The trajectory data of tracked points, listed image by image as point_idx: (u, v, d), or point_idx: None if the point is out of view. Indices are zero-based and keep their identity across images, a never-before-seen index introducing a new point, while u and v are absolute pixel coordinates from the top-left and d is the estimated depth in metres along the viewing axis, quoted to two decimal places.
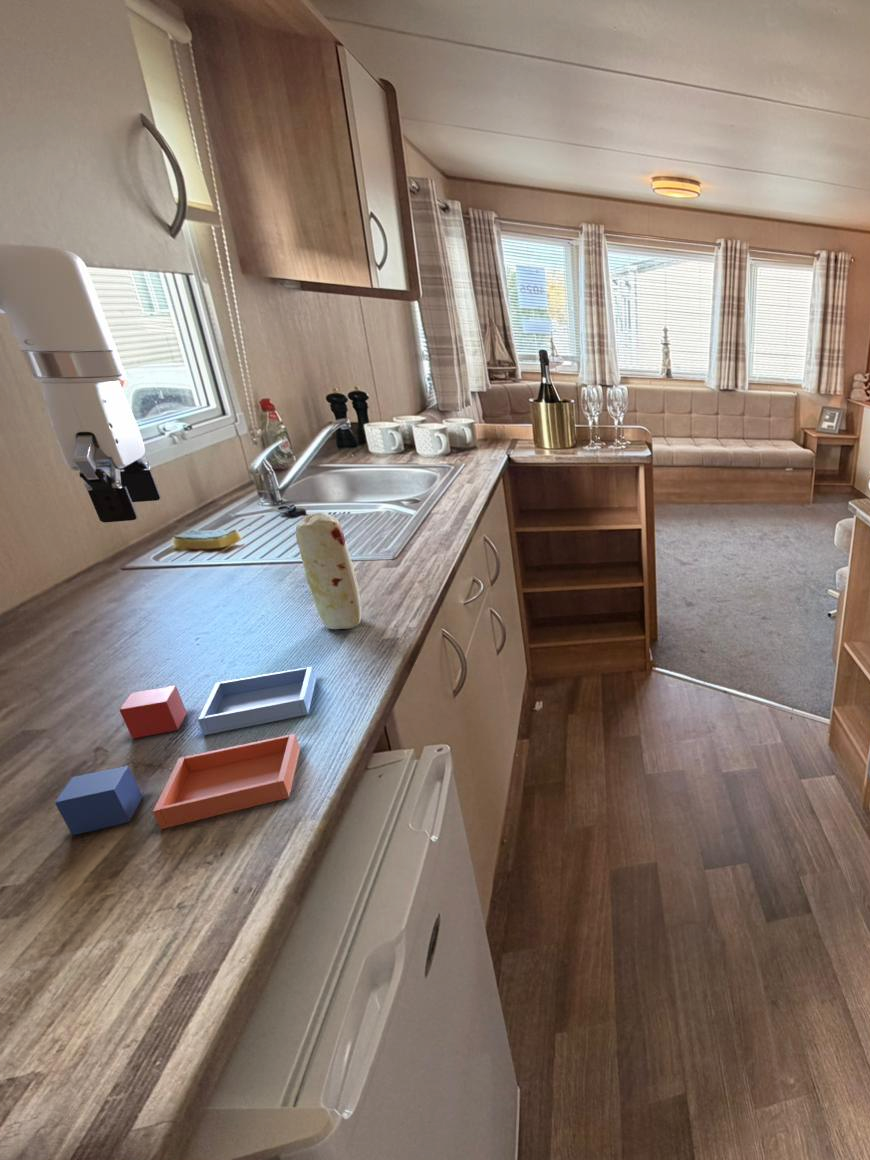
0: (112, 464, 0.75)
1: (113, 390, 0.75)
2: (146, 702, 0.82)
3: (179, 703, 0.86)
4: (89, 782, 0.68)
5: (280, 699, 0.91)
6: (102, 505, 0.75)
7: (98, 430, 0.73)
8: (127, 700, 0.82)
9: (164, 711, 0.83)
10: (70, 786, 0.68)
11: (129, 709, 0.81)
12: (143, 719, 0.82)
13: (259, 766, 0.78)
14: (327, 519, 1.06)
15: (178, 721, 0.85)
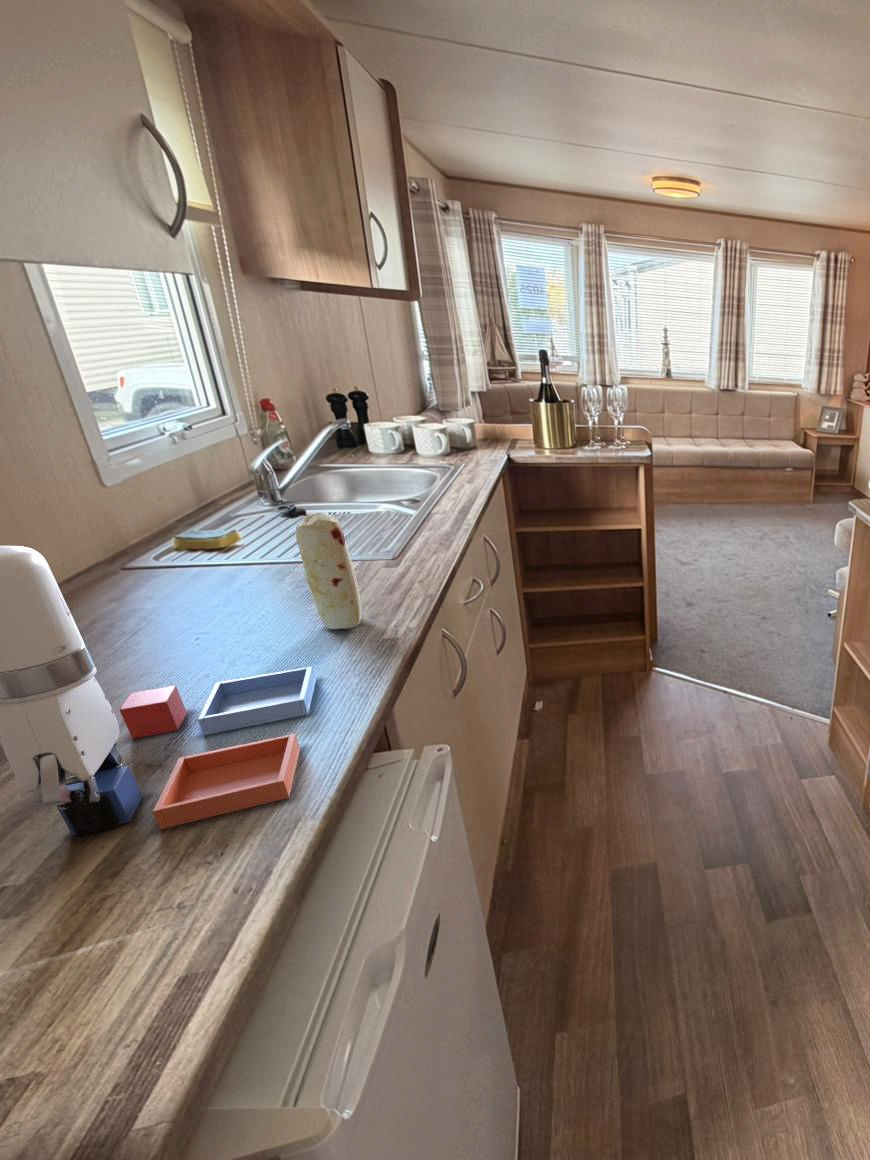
0: (77, 779, 0.64)
1: (79, 690, 0.64)
2: (146, 702, 0.82)
3: (179, 703, 0.86)
4: None
5: (280, 699, 0.91)
6: (79, 821, 0.66)
7: (60, 748, 0.62)
8: (127, 700, 0.82)
9: (164, 711, 0.83)
10: (70, 786, 0.68)
11: (129, 709, 0.81)
12: (143, 719, 0.82)
13: (259, 766, 0.78)
14: (327, 519, 1.06)
15: (178, 721, 0.85)
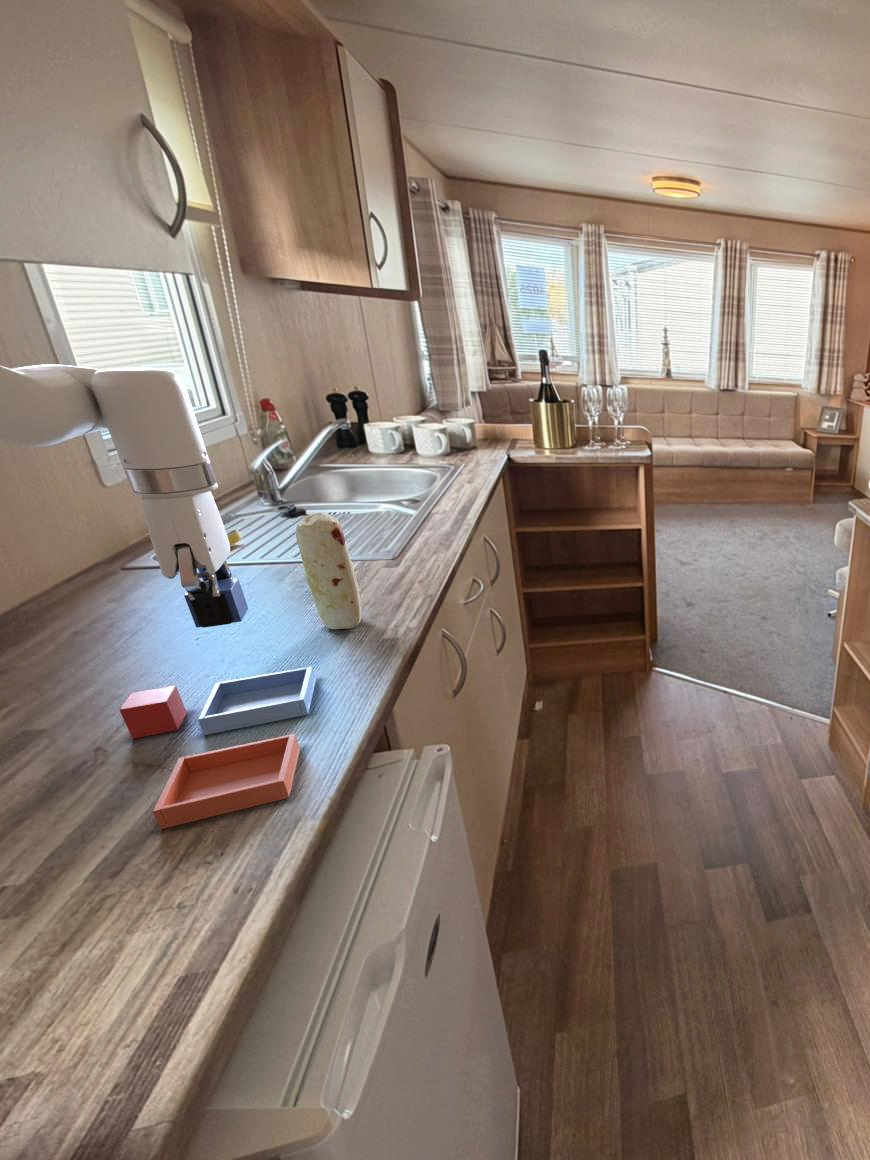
0: (205, 571, 0.77)
1: (206, 498, 0.77)
2: (146, 702, 0.82)
3: (179, 703, 0.86)
4: None
5: (280, 699, 0.91)
6: (203, 613, 0.79)
7: (194, 541, 0.75)
8: (127, 700, 0.82)
9: (164, 711, 0.83)
10: None
11: (129, 709, 0.81)
12: (143, 719, 0.82)
13: (259, 766, 0.78)
14: (327, 519, 1.06)
15: (178, 721, 0.85)
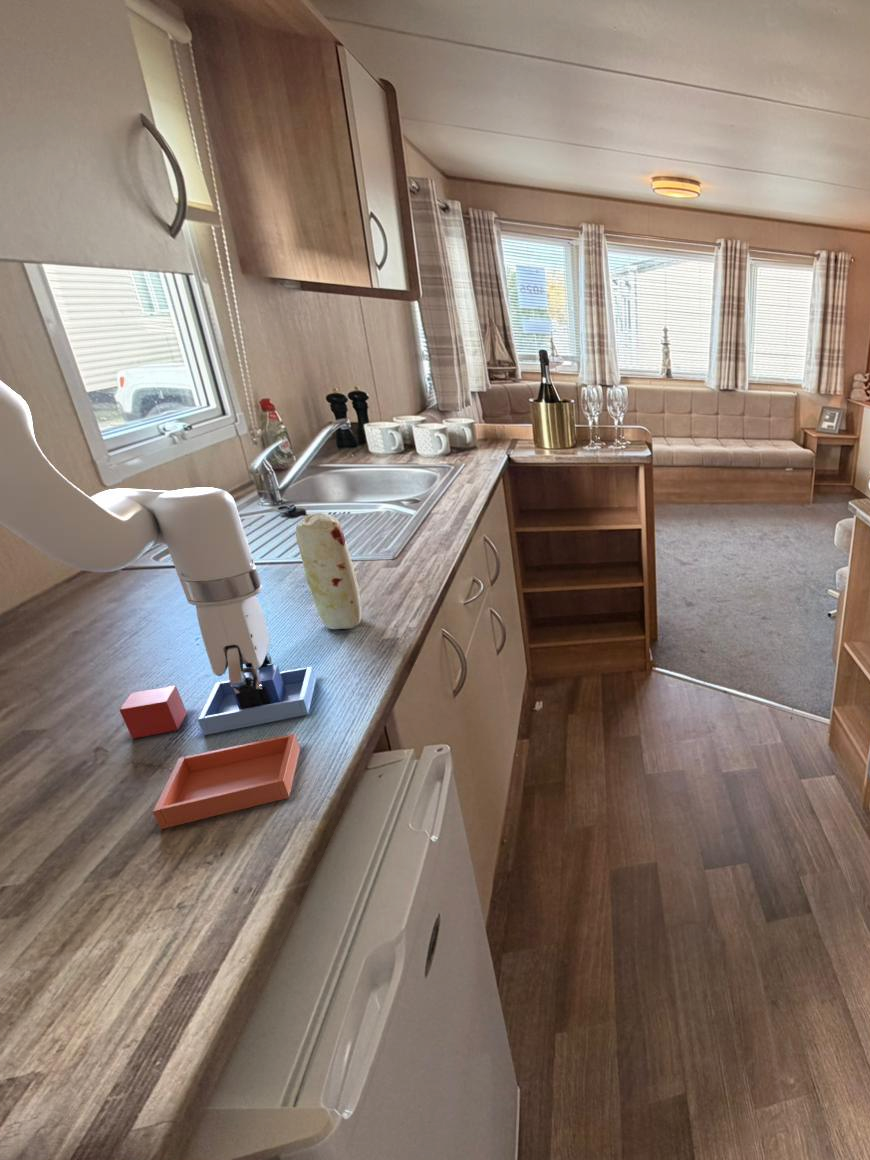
0: (251, 668, 0.84)
1: (251, 601, 0.84)
2: (146, 702, 0.82)
3: (179, 703, 0.86)
4: None
5: None
6: (247, 704, 0.86)
7: (242, 642, 0.82)
8: (127, 700, 0.82)
9: (164, 711, 0.83)
10: None
11: (129, 709, 0.81)
12: (143, 719, 0.82)
13: (259, 766, 0.78)
14: (327, 519, 1.06)
15: (178, 721, 0.85)
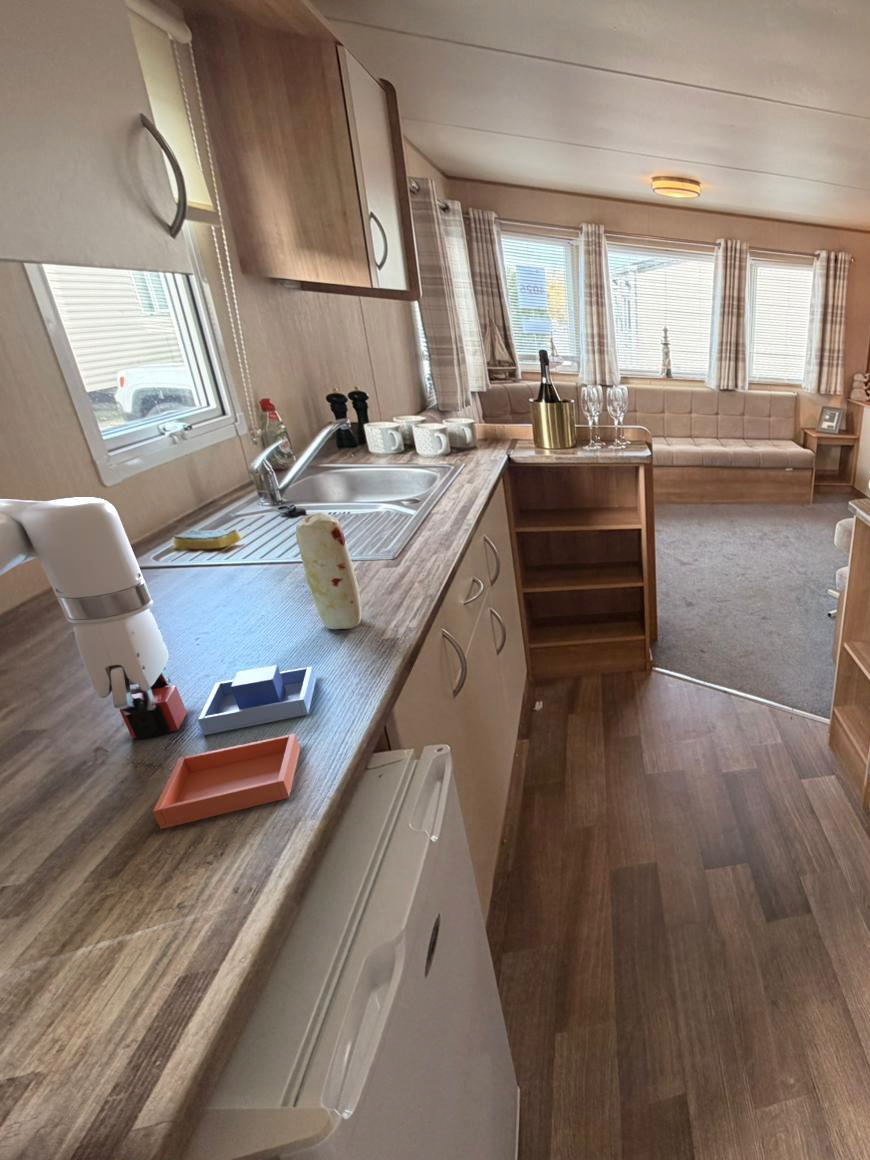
0: (139, 689, 0.79)
1: (140, 617, 0.79)
2: None
3: (179, 703, 0.86)
4: (252, 674, 0.88)
5: None
6: (138, 726, 0.81)
7: (127, 662, 0.77)
8: None
9: (164, 711, 0.83)
10: (238, 676, 0.88)
11: None
12: None
13: (259, 766, 0.78)
14: (327, 519, 1.06)
15: (178, 721, 0.85)
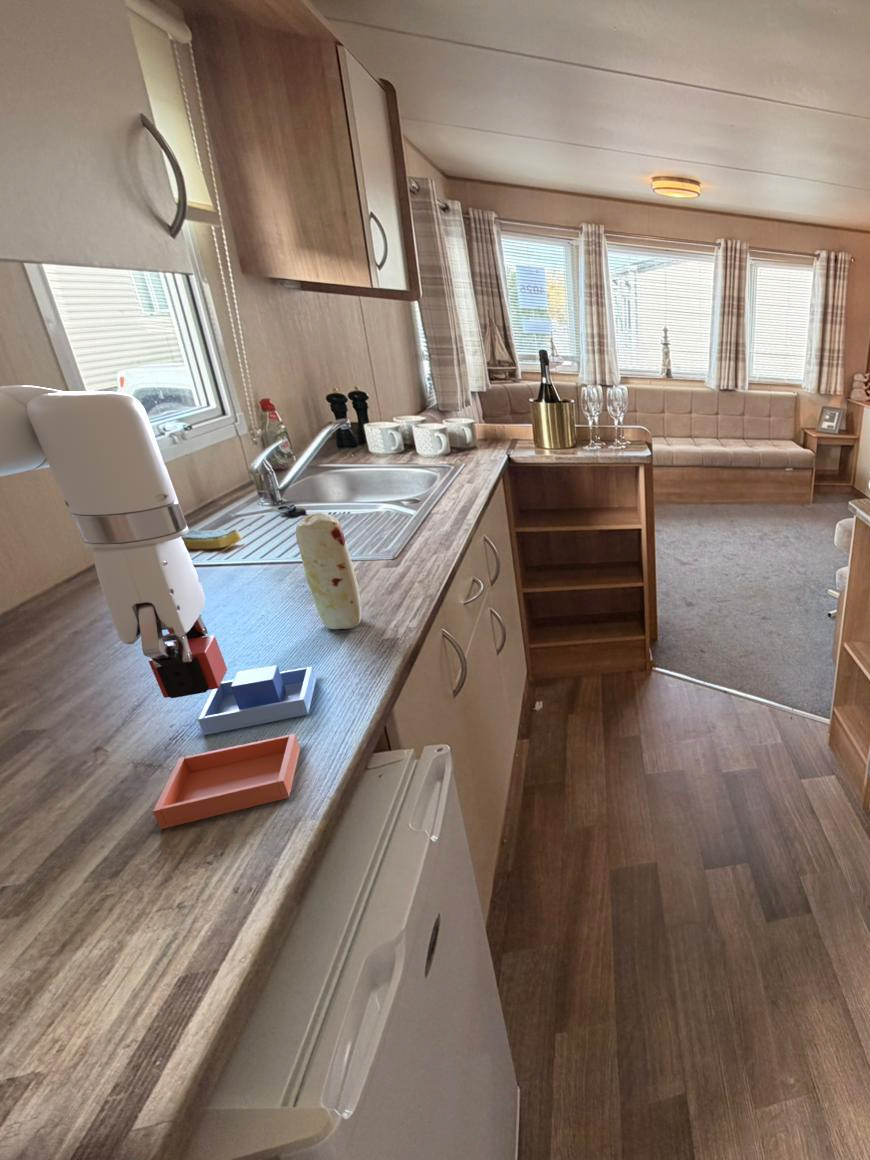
0: (173, 634, 0.64)
1: (173, 546, 0.64)
2: None
3: (219, 657, 0.71)
4: (252, 674, 0.88)
5: None
6: (171, 681, 0.66)
7: (158, 599, 0.62)
8: None
9: (203, 665, 0.68)
10: (238, 676, 0.88)
11: None
12: None
13: (259, 766, 0.78)
14: (327, 519, 1.06)
15: (218, 678, 0.70)
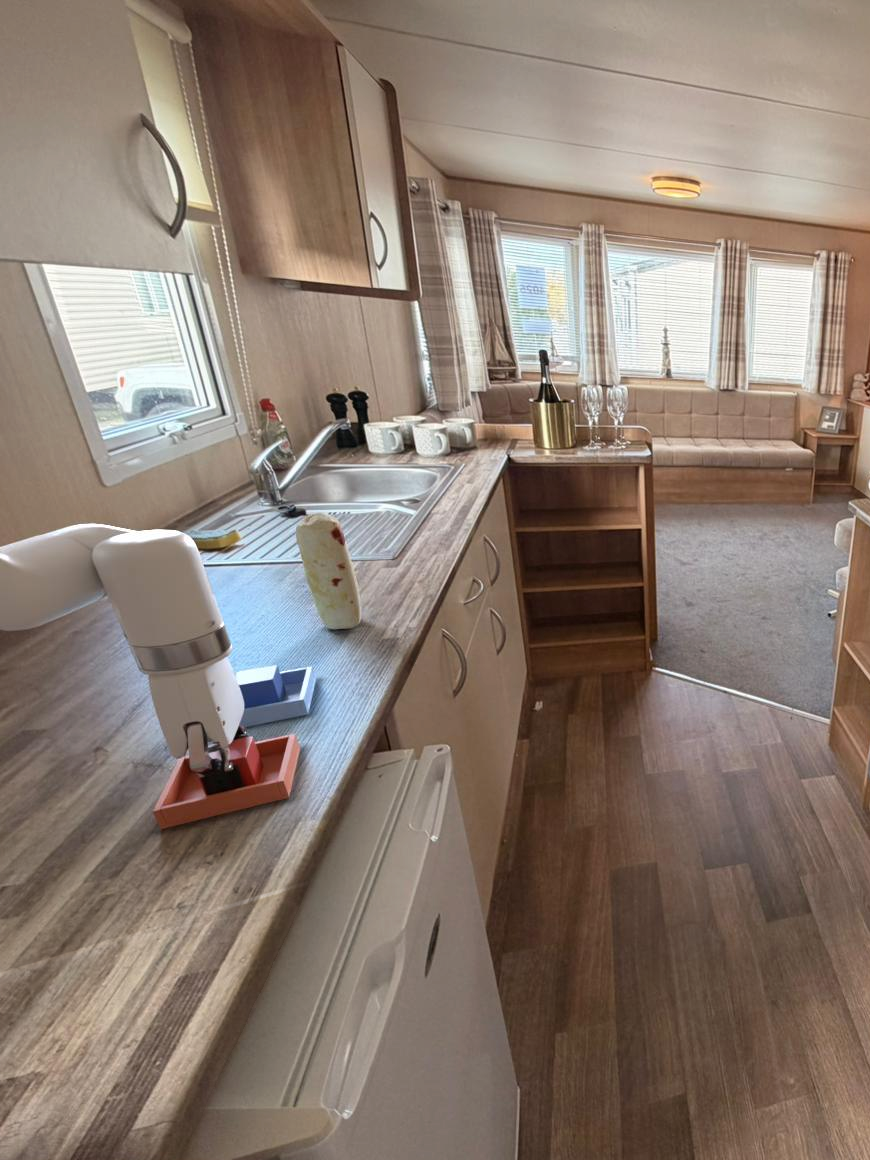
0: (218, 747, 0.69)
1: (219, 665, 0.69)
2: None
3: (256, 756, 0.76)
4: (252, 674, 0.88)
5: None
6: (214, 789, 0.71)
7: (206, 718, 0.67)
8: None
9: (243, 768, 0.73)
10: (238, 676, 0.88)
11: None
12: None
13: None
14: (327, 519, 1.06)
15: (256, 777, 0.75)
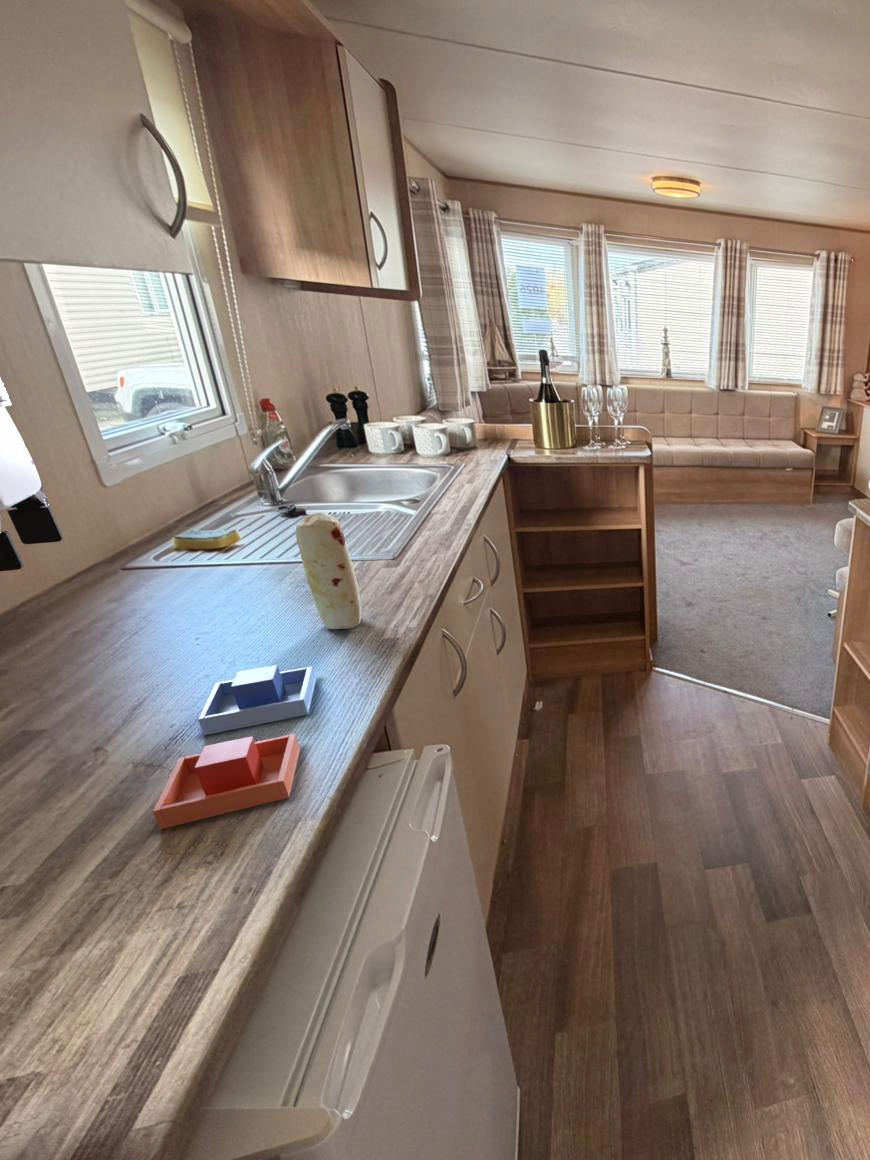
0: None
1: None
2: (224, 758, 0.72)
3: (256, 756, 0.76)
4: (252, 674, 0.88)
5: None
6: None
7: None
8: (201, 755, 0.72)
9: (243, 768, 0.73)
10: (238, 676, 0.88)
11: (205, 767, 0.71)
12: (220, 777, 0.72)
13: None
14: (327, 519, 1.06)
15: (256, 777, 0.75)
